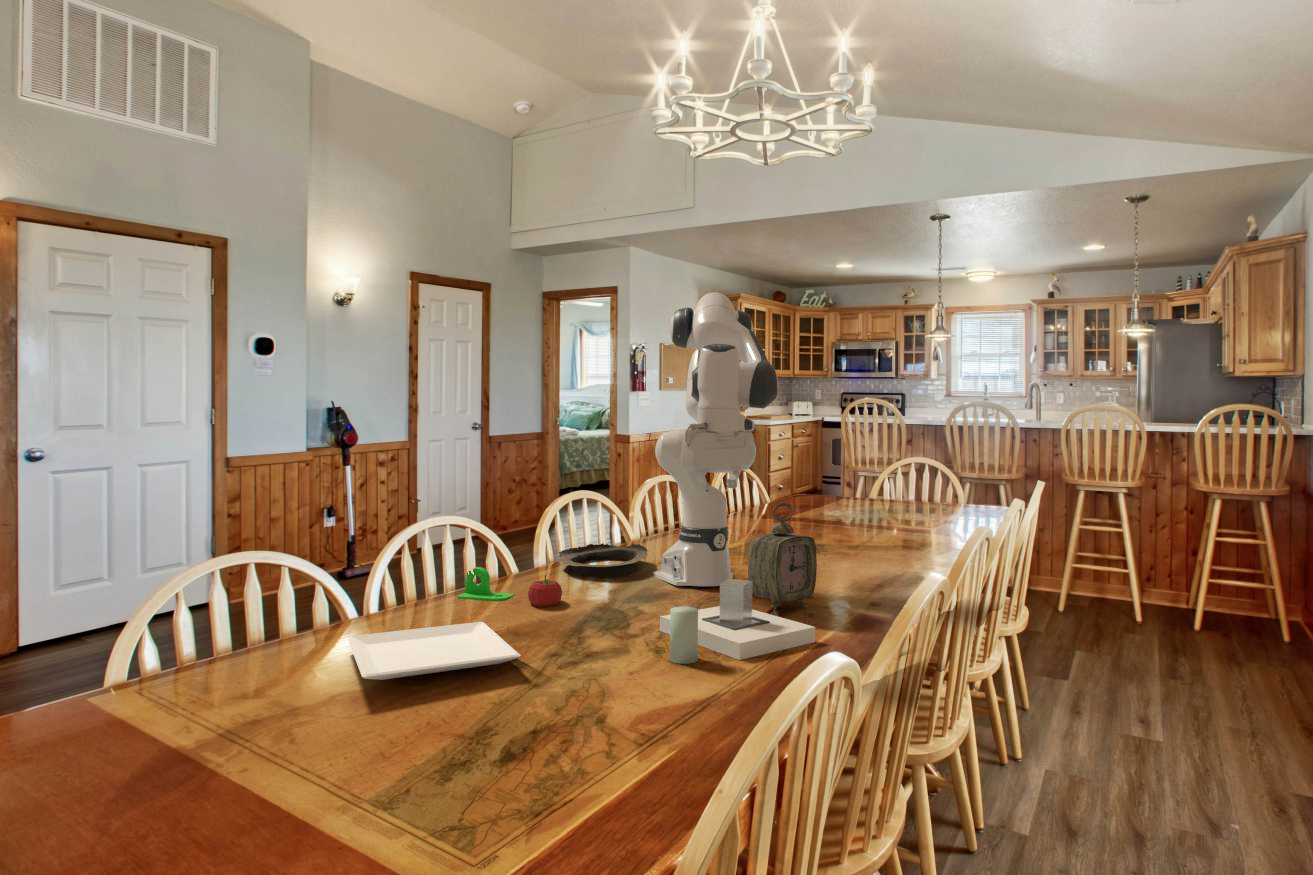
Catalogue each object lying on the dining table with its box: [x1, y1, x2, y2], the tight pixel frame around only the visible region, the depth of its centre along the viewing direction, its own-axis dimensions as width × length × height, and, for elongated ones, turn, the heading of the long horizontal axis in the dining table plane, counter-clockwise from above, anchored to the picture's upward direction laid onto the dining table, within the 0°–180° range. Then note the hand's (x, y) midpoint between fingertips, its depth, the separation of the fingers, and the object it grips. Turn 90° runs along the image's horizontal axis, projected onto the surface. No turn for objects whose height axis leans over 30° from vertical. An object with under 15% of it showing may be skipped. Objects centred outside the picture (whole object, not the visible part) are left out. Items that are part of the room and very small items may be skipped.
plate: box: [347, 621, 522, 680], centre depth 137 cm, size 26×26×2 cm
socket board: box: [659, 605, 816, 661], centre depth 151 cm, size 24×20×3 cm
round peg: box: [669, 606, 699, 665], centre depth 135 cm, size 5×5×9 cm
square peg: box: [719, 578, 753, 627], centre depth 151 cm, size 5×5×11 cm
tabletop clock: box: [747, 502, 818, 617], centre depth 171 cm, size 14×9×25 cm, turn 131°
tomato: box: [527, 574, 563, 608], centre depth 174 cm, size 8×8×8 cm
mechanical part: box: [456, 566, 515, 602], centre depth 179 cm, size 12×6×8 cm, turn 77°
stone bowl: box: [557, 543, 649, 578], centre depth 205 cm, size 25×25×9 cm
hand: (718, 489), depth 155 cm, fingers open, 8 cm apart
